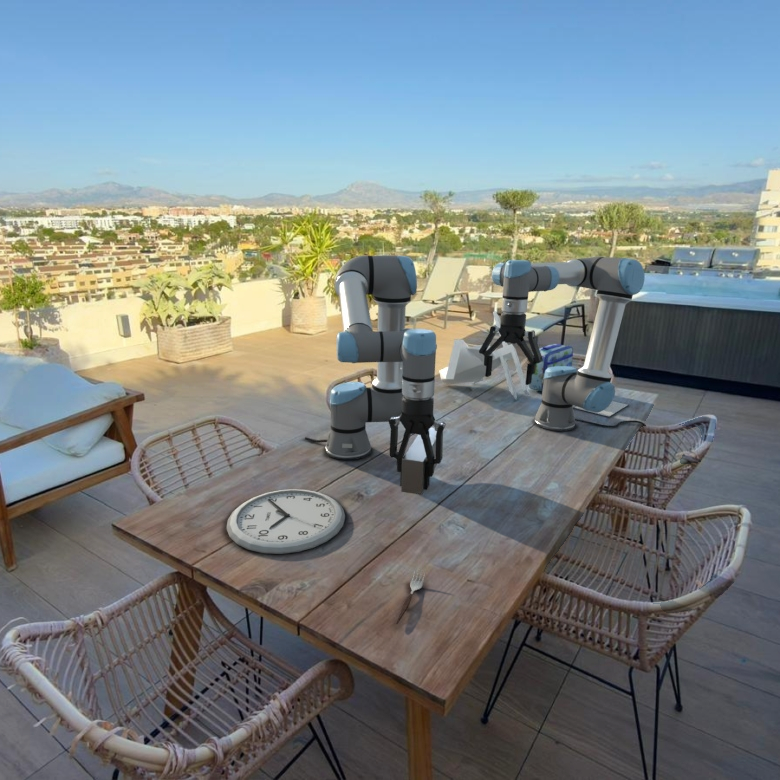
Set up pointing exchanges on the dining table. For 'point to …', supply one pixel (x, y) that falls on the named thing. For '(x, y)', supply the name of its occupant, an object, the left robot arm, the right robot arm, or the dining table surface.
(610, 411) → the invitation card
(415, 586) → the fork
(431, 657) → the dining table surface
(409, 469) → the bar
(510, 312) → the right robot arm
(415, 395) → the left robot arm
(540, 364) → the lunch box
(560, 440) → the dining table surface
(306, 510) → the wall clock
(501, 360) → the white plastic object
